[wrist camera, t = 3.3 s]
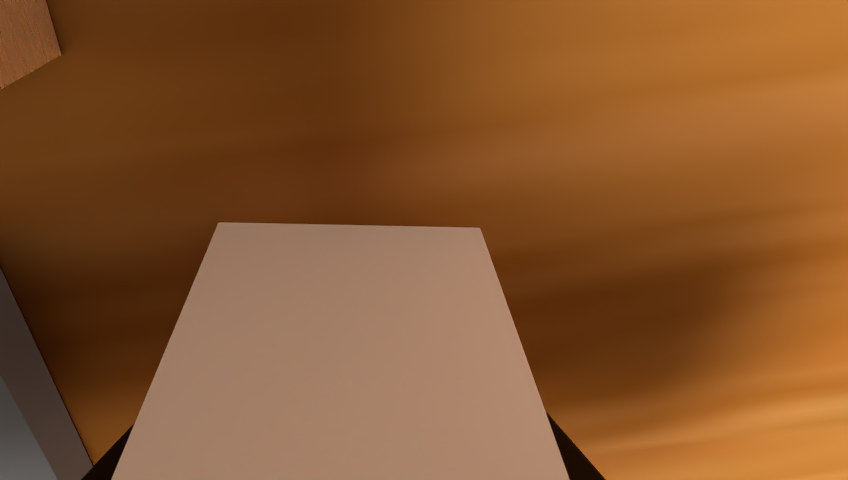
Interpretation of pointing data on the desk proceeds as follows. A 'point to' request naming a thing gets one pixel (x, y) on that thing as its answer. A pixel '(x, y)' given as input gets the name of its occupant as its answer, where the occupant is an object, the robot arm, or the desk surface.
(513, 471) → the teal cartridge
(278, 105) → the desk surface
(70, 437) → the plate
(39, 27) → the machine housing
